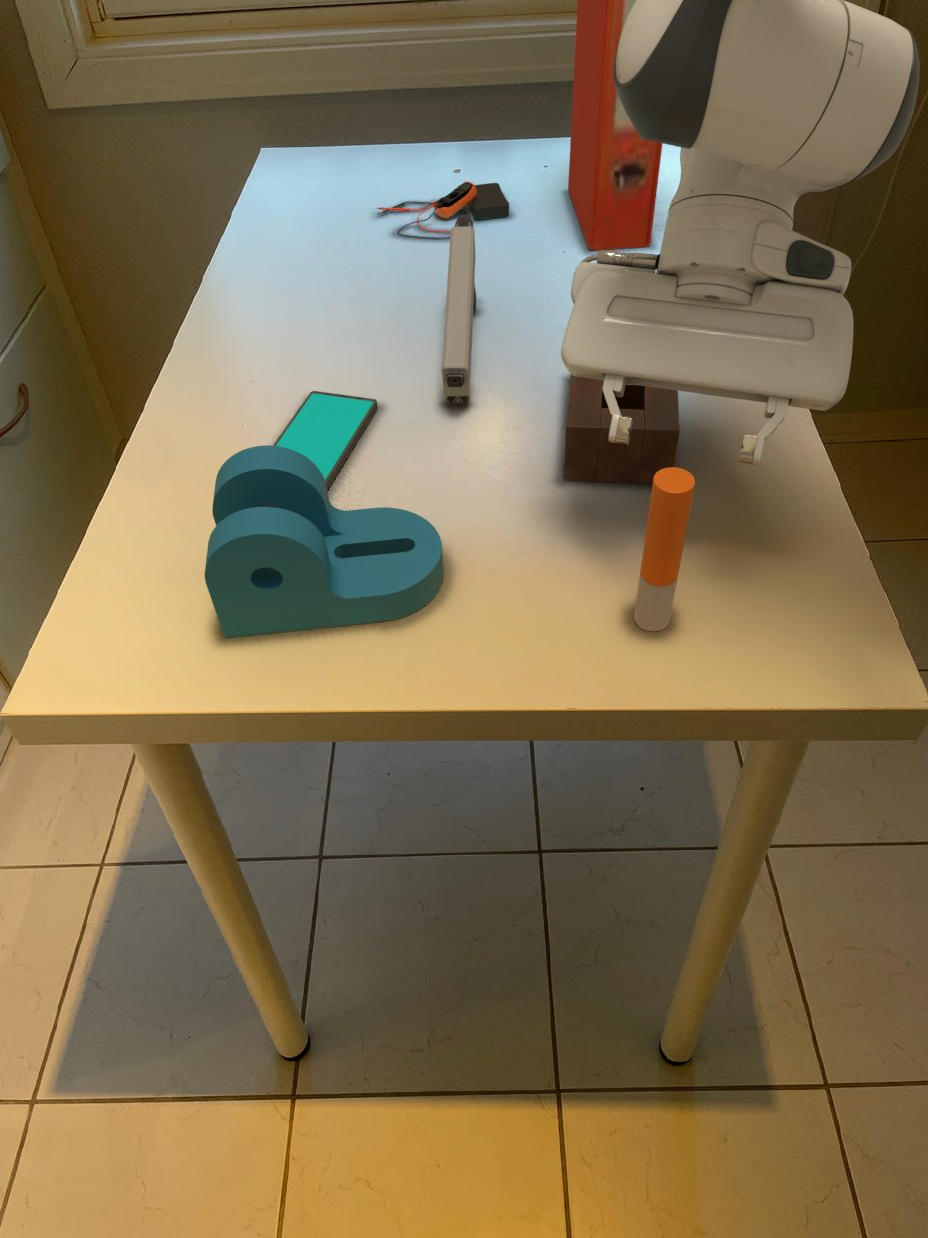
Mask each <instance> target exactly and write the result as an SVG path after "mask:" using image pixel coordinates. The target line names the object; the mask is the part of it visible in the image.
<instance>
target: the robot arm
mask: <svg viewBox="0 0 928 1238" xmlns="http://www.w3.org/2000/svg"><path fill="white" fill-rule="evenodd" d="M920 65H921V63H920V55H919V50H918V46H917V43H916V40H915V37H914V35H913V33H912V32H911V30H910V29H909V28H908V27H906V26H902V25H901V24H899V23H897V22H896V21H894V20H893V19H890V18H889V17H886V16H884V15H882V14H879V13H877V12H874V11H872V10H869V9H868V8H867V9H866V8H864V7H863V6H859V5H857V4H854V3H853V2H849V1H847V0H636V1H635V3H634V5H633V7H632V9H631V11H630V13H629V15H628V17H627V20H626V22H625V25H624V27H623V30H622V33H621V36H620V39H619V43H618V46H617V50H616V54H615V59H614V66H613V79H614V83H615V86H616V90H617V92H618V95H619V98H620V100H621V103H622V105H623V107H624V109H625V112H626V113H627V115H628V117H629V119H630V121H631V122H632V124H633V126H634V127H635V129H636V131H637V132H638V133H639V135H640V136H641V138H642V139H644V140H649V141H654V142H659V143H663V144H662V145H668V146H673V147H678V148H680V151H679V162H680V179H679V183H678V186H677V189H676V192H675V194H674V195H673V198H672V200H671V202H670V204H669V206H668V212H667V216H666V222H665V227H664V232H663V237H662V242H661V247H660V253H659V254H655V253H654V254H653V253H644V252H643V253H642V252H621V251H619V252H618V251H617V250H615V249H605V250H598V252H597V254H591V255H589V256H586V257H585V258H583V259H581V261H580V262H579V263H578V264H577V266H576V267H575V270H574V272H573V278H572V283H571V288H570V289H571V290H570V297H571V301H572V303H573V307H572V310H571V313H570V314H569V319H568V322H567V325H566V328H565V332H564V336H563V341H562V344H561V349H560V357H561V362H562V363H563V365H564V367H565V368H566V370H567V371H568V372H569V374H570V375H571V374H572V375H573V376H576V377H583V378H590V379H597V380H604V384H603V389H602V390H603V393H604V396H605V399H606V402H607V404H608V407H609V410H610V413H611V416H612V421H611V426H610V431H609V442H611V443H618V444H625V445H629V443H630V438H631V437H630V433H631V432H632V428H633V423H634V422H633V419H632V418H627V417H622V416H621V413H620V410H619V407H618V404H617V401H616V398H615V396H617V397H623V395H624V390H625V385H626V384H633V385H640V386H648V387H655V388H662V389H669V390H677V391H678V392H684V393H691V394H699V395H707V396H714V397H722V398H728V399H736V400H742V401H750V402H757V403H764V404H766V406H765V411H764V415H763V416H764V418H765V419H769V420H768V421H767V422H766V423H765V424H764V426H762V428H761V429H760V430H759V431H758V432H757V434H756V435H750V434H743V437H742V441H741V446H740V451H739V456H738V461H737V462H738V463H743V464H748V465H755V466H759V465H760V463H761V458H762V455H763V449H764V444H765V442H766V441H767V440H768V439H769V438H770V437H771V436H772V435H773V433H775V431H776V430H777V429H778V427H779V426H781V424H782V423H783V422H784V420H785V419H786V417H787V414H788V409H789V407H793V408H800V409H808V410H815V411H822V412H825V411H828V410H830V409H832V408H833V407H834V406H835V405H837V404H838V403H839V402H840V401H841V400H842V399H843V397H844V395H845V394H846V391H847V387H848V383H849V378H850V371H851V365H852V357H853V346H854V315H853V310H852V307H851V304H850V303H849V300H848V299H846V297H845V296H844V295H845V293H846V290H847V288H848V286H849V283H850V279H851V273H852V260H851V258H850V257H849V256H848V255H847V254H846V253H843V252H841V251H840V250H838V249H835V248H832V247H830V246H828V245H825V244H823V243H820V242H818V241H816V240H814V239H811V238H809V237H807V236H805V235H803V234H801V233H800V232H796V231H794V230H793V227H794V210H795V209H794V208H795V205H796V203H797V201H798V200H799V198H800V197H802V196H803V195H805V194H808V193H812V194H823V193H827V192H831V191H833V190H836V189H839V188H842V187H844V186H846V185H849V184H851V183H853V182H856V181H858V180H860V179H862V178H863V177H865V176H868V175H869V174H870V173H871V172H873V171H875V170H876V169H878V168H879V167H880V166H881V165H882V164H884V163H885V162H886V161H888V160H889V159H890V158H891V157H892V156H893V155H894V153H895V152H896V151H897V149H898V148H899V146H900V145H901V143H902V141H903V140H904V138H905V135H906V133H907V132H908V129H909V127H910V123H911V122H912V118H913V114H914V111H915V109H916V108H915V107H916V103H917V98H918V93H919V85H920V75H921V74H920V72H921V69H920V68H921V67H920ZM594 261H596V262H594Z"/></svg>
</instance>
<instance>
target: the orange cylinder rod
mask: <svg viewBox="0 0 928 1238" xmlns="http://www.w3.org/2000/svg"><path fill="white" fill-rule="evenodd" d="M695 487H696V480H695V476H694V475H693V474H692V473H691V472H690V471H688V470H686V469H684V468H680V467H675V466H674V467H669V468H664V469H661V470H659V471H658V472H657V473H656V474H655V475H654V478H653V484H651V493H650V498H649V499H650V500H649V506H648V513H647V521H646V528H645V535H644V541H643V549H642V556H641V564H640V570H639V578H638V585H637V591H636V597H635V598H636V600H635V606H634V614H633V620H634V622H635V624H636V626H637V627H638V628H640V629H642V630H643V631H647V632H659V631H663V630H664V629H666V628H668V626H669V624H670V622H671V617H672V616H671V615H672V610H673V604H674V600H675V594H676V589H677V584H678V577H679V573H680V568H681V562H682V557H683V556H682V555H683V551H684V546H685V540H686V534H687V529H688V524H689V518H690V513H691V507H692V501H693V496H694V492H695Z"/></svg>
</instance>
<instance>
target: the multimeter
mask: <svg viewBox="0 0 928 1238" xmlns="http://www.w3.org/2000/svg"><path fill="white" fill-rule="evenodd" d="M410 203H413V204H427V205H425V206H423V207H421V208H418V209H412V208H408V207H407V208H405V207H404V208H403V206H405V205H406V204H410ZM429 205H432V206H430V207H428V206H429ZM468 206H469V207H468ZM427 207H428V208H427ZM464 207H465V208H466V210H467V211H465V210H462V209H463V208H464ZM433 208H434V210H433V211H432V213H431V214H430V215H429V217H427V218H426V219H422V220H419V218H420V216H421V215H422V214H424V213H426V212H427V211H428V210H430V209H433ZM469 208H470V209H469ZM374 209H376V210H381V212H379V213H377V214H376V215H381V214H385V213H387V212H390V211H400V212H409V211H421V210H423V211H421V213H419V214H418V216H417V218H416V221H413V222H410V223H406V224H405V225H403V226H402V227H400V228H399V229H398V230H397V232H396V234H397V235H400V236H403V237H408V238H417V239H435V240H436V239H437V240H438V239H439V240H440V239H443V240H444V239H450V236H448V237H447V236H446V237H445V236H444V237H433V236H432V237H430V236H429V237H428V236H417V235H407V234H402V233H400V231H401V230H402V229H404V228H405V227H407V226H410V225H412V224H415V223H417V225H418V226H419V227H420V228H421V229H422V230H425V231H428V232H434V233H435V232H437V233H451V230H433V229H428V228H425V227H423V226H422V225H421V224H420V223H421V222H426V221H428V220H429V219H430V218H431V217H432V216H433V215H434V213H436V215H437V216H438V217H440V218H442V219H449V218H450V217H452V216H453V215H454V214H456V213H457V212H463V213H465V214H466V215H469V216H470V217H471V214H470V210H471V213H472V216H473V218H474V219H475V220H482V219H490V218H498V217H506V216H507V217H508V216H509V215H510V203H509V201H508V199H507V198H506V196H505V194H504V193H503V190H502V189H501V185H500V184H499V183H498V182H489V183H480V184H475V183H473V182H471V181H464V182H462V183H461V184H459V185H458V186H456V188H454V189H453V190H452V191H451V192H449V193H448V194H447V195H445V196H442V197H440V198H439V199H437V200H436V201H432V202H429V201H406V202H402V203H399V204H397V205H395V206H392V207H384V206H383V207H374ZM424 209H425V210H424Z"/></svg>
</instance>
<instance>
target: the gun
mask: <svg viewBox="0 0 928 1238" xmlns="http://www.w3.org/2000/svg"><path fill="white" fill-rule="evenodd" d="M450 231H451V232H450V236H449V237H450V238H449V252H448V265H447V266H448V267H447V281H446V282H447V283H446V295H445V297H446V298H445V312H444V313H445V314H444V328H443V330H444V331H443V343H442V359H441V376H442V377H441V378H442V388H443V389H442V390H443V396H444V397H446V398H445V399H446V402H447V403H449V404H452V405H453V404H467V403H468V402H469V401H470V393H471V392H470V391H471V390H470V389H471V370H472V369H471V368H472V345H473V323H474V322H473V321H474V312H475V311H477V292H476V284H475V283H476V282H475V281H476V280H475V279H476V278H475V276H476V238H475V228H474V221H473V220H472V217H471V215H470V216H469V215H468V214H459V215H458V217H457V219H456V221H455V224H454V226H453V227H452V228H451V229H450Z"/></svg>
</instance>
